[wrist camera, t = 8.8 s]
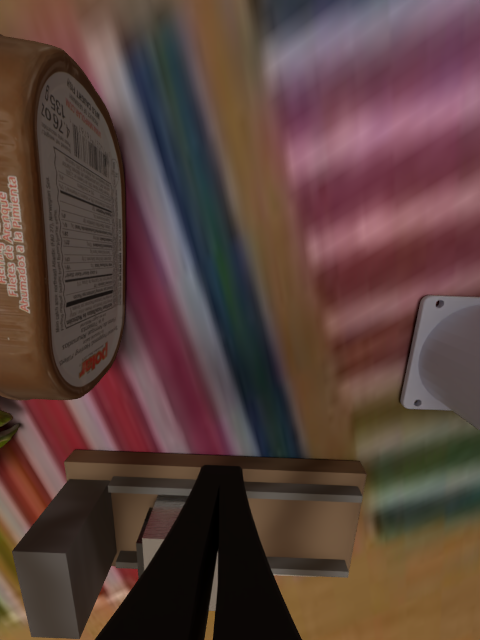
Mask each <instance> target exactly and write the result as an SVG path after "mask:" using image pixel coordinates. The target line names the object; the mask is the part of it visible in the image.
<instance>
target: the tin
mask: <svg viewBox="0 0 480 640" xmlns="http://www.w3.org/2000/svg"><path fill="white" fill-rule="evenodd" d="M125 266H126V216H125V180H124V170H123V163H122V157H121V152H120V147H119V143H118V139H117V136H116V132H115V129H114V126H113V123H112V120H111V118H110V115H109V112H108V110H107V108H106V106H105V104H104V103H103V101H102V100H101V98H100V96H99V95H98V93H97V92H96V90H95V89H94V87H93V86H92V84H91V82H90V81H89V79H88V78H87V76H86V75H85V73H84V72H83V71H82V69H81V68H80V67H79V66H78V65H77V63H76V62H75V61H74V60H73V59H72V58H71V57H70V56H69V55H68V54H67V53H66V52H65V51H64V50H62V49H60V48H57V47H55V46H52V45H48V44H44V43H39V42H35V41H30V40H24V39H18V38H12V37H5V36H3V35H1V34H0V395H1V396H2V397H5V398H8V399H13V400H30V399H49V400H72V399H78V398H81V397H82V396H84V395H85V394H87V393H88V392H89V391H90V390H92V389H93V388H94V386H95V385H96V384H97V383H98V382H99V381H100V380H101V378H102V377H103V376H104V375H105V374H106V373H107V372H108V370H109V369H110V368H111V366H112V364H113V362H114V360H115V358H116V355H117V352H118V349H119V346H120V342H121V338H122V333H123V327H124V319H125Z"/></svg>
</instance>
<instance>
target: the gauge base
mask: <svg viewBox="0 0 480 640" xmlns="http://www.w3.org/2000/svg"><path fill="white" fill-rule="evenodd" d="M64 464H65V471H66V477H67V483H66V484H65V485H64V486H63V488H62V489H61V490H60V491H59V493H58V494H57V495H56V496H55V498H54V499H53V500H52V502H51V503H50V504H49V505H48V507H47V508H46V509H45V510H44V512H43V513H42V514H41V515H40V517H39V518H38V519H37V520H36V522H35V523H34V524H33V526H32V527H31V528H30V529H29V531H28V532H27V533H26V534H25V536H24V537H23V538H22V539H21V541H20V542H19V543H18V545H17V546H16V547H15V548H14V550H13V551H12V553H13V557H14V562H15V566H16V571H17V575H18V579H19V584H20V588H21V593H22V597H23V602H24V606H25V610H26V615H27V619H28V624H29V628H30V632H31V637H46V638H70V639H80V637H81V635H82V632H83V630H84V628H85V625H86V623H87V621H88V618H89V616H90V614H91V611H92V609H93V607H94V604H95V602H96V600H97V597H98V595H99V593H100V590H101V588H102V586H103V583H104V581H105V579H106V577H107V574H108V572H109V570H110V567H111V566H116V568H132V569H138V563H137V550H136V542H137V539H138V537H139V534H140V531H141V529H142V526H143V523H144V521H145V518H146V515H147V513H148V510H149V507H151V508H153V507H154V504H155V501H156V499H157V496H158V495H181V496H189V494H190V492H191V490H192V488H193V486H194V484H195V482H196V479H197V477H198V475H199V472H200V469H201V467H202V466H204V465H223V466H240V467H241V468H242V469H243V479H244V485H245V490H246V494H247V498H248V502H249V506H250V509H251V513H252V516H253V519H254V522H255V525H256V529H257V532H258V535H259V538H260V541H261V544H262V546H263V549H264V552H265V554H266V557H267V560H268V562H269V565H270V568H271V570H272V573H273V575H286V576H310V577H318V576H324V577H348V573H349V568H350V562H351V557H352V552H353V546H354V541H355V535H356V530H357V524H358V519H359V513H360V508H361V503H362V497H363V492H364V486H365V481H366V475H367V474H366V472H365V470H364V468H363V467H362V465H361V463H360V461H343V460H318V459H293V458H268V457H243V456H218V455H193V454H168V453H143V452H118V451H94V450H74V451H73V452H72V454H71V455H70V456H69V457H68V458H67V459H66V460H65V461H64Z"/></svg>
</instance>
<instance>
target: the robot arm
mask: <svg viewBox="0 0 480 640" xmlns="http://www.w3.org/2000/svg"><path fill="white" fill-rule="evenodd" d="M438 300H439V305H438V306H437V307H436V302H437V301H438ZM416 400H418V401H417V402H416V403H414V402H415V401H416ZM400 402H401V404H402V405H403V406H404V407H405V408H408V409H428V410H452V411H454V412H455V413H456V414H458V415H459V416H461V417H462V418H463V419H465V420H466V421H468V422H469V423H470V424H472V425H473V426H474V427H476V428H477V429H479V430H480V297H467V296H441V295H427V296H425V297H423V298H422V300H421V302H420V306H419V311H418V316H417V321H416V326H415V331H414V336H413V341H412V345H411V350H410V355H409V360H408V365H407V370H406V375H405V380H404V385H403V390H402V394H401V399H400ZM217 553H218V587H217V599H216V610H215V622H214V633H213V640H302V639H301V637H300V635H299V633H298V630H297V628H296V626H295V624H294V622H293V620H292V617H291V615H290V613H289V611H288V608H287V606H286V604H285V602H284V599H283V597H282V595H281V592H280V590H279V588H278V585H277V583H276V580H275V578H274V575H273V573H272V570H271V568H270V565H269V562H268V560H267V557H266V554H265V552H264V549H263V546H262V544H261V541H260V538H259V535H258V532H257V529H256V525H255V522H254V519H253V516H252V513H251V509H250V506H249V502H248V498H247V494H246V490H245V485H244V479H243V469H242V468H241V467H240V466H223V465H204V466H202V467H201V469H200V472H199V475H198V477H197V479H196V482H195V484H194V486H193V488H192V490H191V492H190V494H189V496H188V498H187V500H186V502H185V504H184V506H183V508H182V509H181V511H180V513H179V515H178V517H177V518H176V520H175V522H174V524H173V526H172V527H171V529H170V531H169V532H168V534H167V536H166V537H165V539H164V541H163V542H162V544H161V545H160V547H159V549H158V550H157V552H156V553H155V555H154V557H153V558H152V560H151V561H150V563H149V564H148V566H147V567H146V569H145V571H144V572H143V574H142V575H141V576H140V578H139V579H138V581H137V582H136V584H135V585H134V587H133V588H132V590H131V591H130V592H129V594H128V595H127V597H126V598H125V599H124V601H123V602H122V604H121V605H120V606H119V608H118V609H117V611H116V612H115V613H114V615H113V616H112V617H111V619H110V620H109V621H108V623H107V624H106V625H105V627H104V628H103V629H102V631H101V632H100V633H99V635H98V636H97V637H96V639H95V640H204V638H205V631H206V625H207V618H208V612H209V605H210V599H211V592H212V586H213V579H214V573H215V566H216V559H217Z"/></svg>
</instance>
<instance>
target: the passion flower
mask: <svg viewBox="0 0 480 640" xmlns="http://www.w3.org/2000/svg"><path fill="white" fill-rule="evenodd" d="M12 419H13V417H12V415H11V414H10V413H7V412H4V411H1V410H0V427H1V426H3V425H5V424H7V423H8V422H10V421H11V420H12ZM19 425H20V424H17V425H14V426H13V427H12V428H10V429H7V430H5V431H2V432H0V448H1V447H2V446H4V445H5V444H6V443H7V442H8V441H10V440H11V438H12V436H13V435H14V434H15V433H16V432H17V430H18V428H19Z"/></svg>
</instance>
